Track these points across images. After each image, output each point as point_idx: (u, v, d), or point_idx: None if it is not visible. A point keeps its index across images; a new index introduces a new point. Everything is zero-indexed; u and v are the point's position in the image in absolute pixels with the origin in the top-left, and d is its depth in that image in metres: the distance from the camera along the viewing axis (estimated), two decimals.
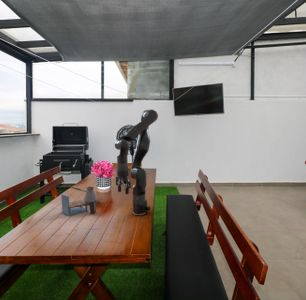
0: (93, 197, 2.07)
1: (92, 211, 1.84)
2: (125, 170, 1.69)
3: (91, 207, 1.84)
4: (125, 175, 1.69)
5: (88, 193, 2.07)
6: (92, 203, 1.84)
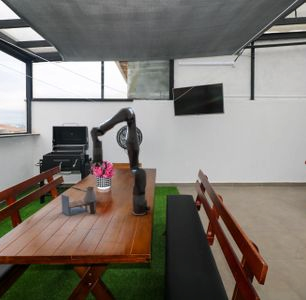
0: (93, 197, 2.07)
1: (92, 211, 1.84)
2: (102, 154, 1.94)
3: (91, 207, 1.84)
4: (102, 158, 1.94)
5: (88, 193, 2.07)
6: (92, 203, 1.84)
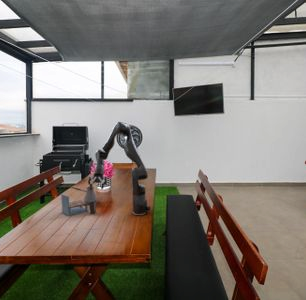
0: (93, 197, 2.07)
1: (92, 211, 1.84)
2: (103, 171, 2.05)
3: (91, 207, 1.84)
4: None
5: (88, 193, 2.07)
6: (92, 203, 1.84)
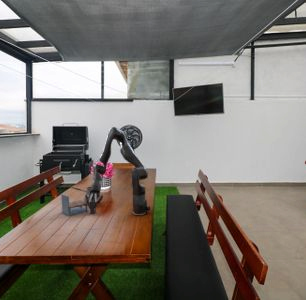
0: None
1: (92, 211, 1.84)
2: (100, 187, 1.94)
3: (91, 207, 1.84)
4: (99, 191, 1.92)
5: (88, 193, 2.07)
6: (92, 203, 1.84)
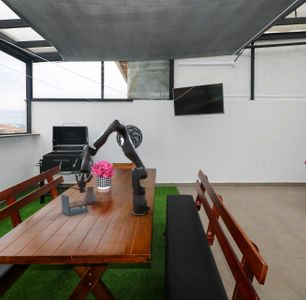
0: (93, 197, 2.07)
1: (81, 190, 1.86)
2: (90, 167, 1.96)
3: (80, 186, 1.86)
4: (89, 171, 1.94)
5: (88, 193, 2.07)
6: (81, 182, 1.85)
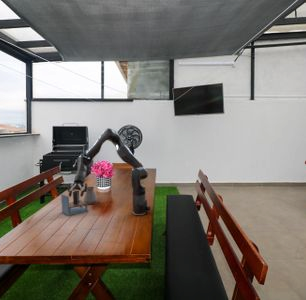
0: (93, 197, 2.07)
1: (75, 201, 1.88)
2: (84, 177, 1.98)
3: (74, 197, 1.88)
4: (83, 181, 1.96)
5: (88, 193, 2.07)
6: (75, 193, 1.88)
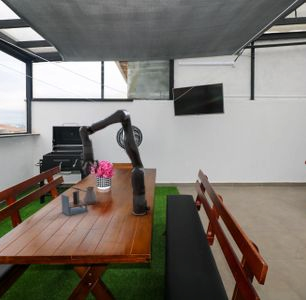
0: (93, 197, 2.07)
1: (75, 201, 1.88)
2: None
3: (74, 197, 1.88)
4: (93, 157, 1.91)
5: (88, 193, 2.07)
6: (75, 193, 1.88)
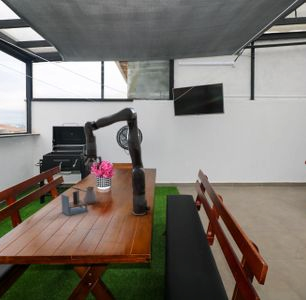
0: (93, 197, 2.07)
1: (75, 201, 1.88)
2: (96, 149, 1.89)
3: (74, 197, 1.88)
4: (96, 153, 1.89)
5: (88, 193, 2.07)
6: (75, 193, 1.88)
